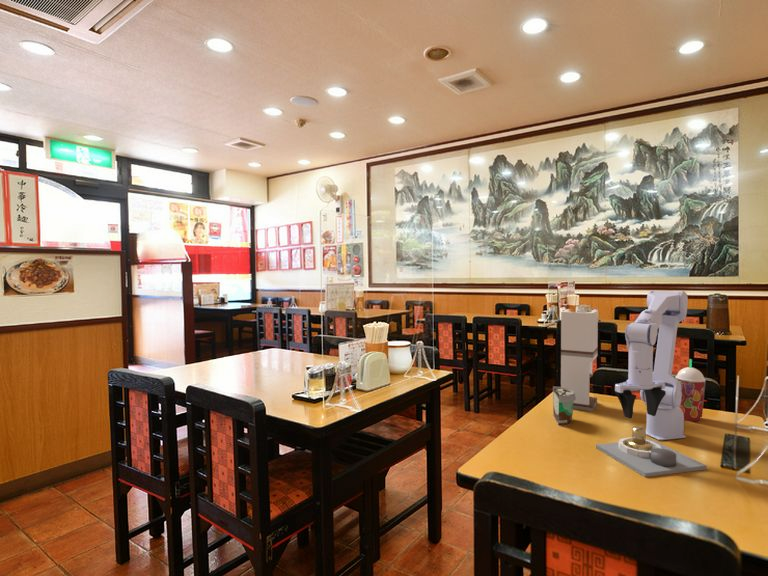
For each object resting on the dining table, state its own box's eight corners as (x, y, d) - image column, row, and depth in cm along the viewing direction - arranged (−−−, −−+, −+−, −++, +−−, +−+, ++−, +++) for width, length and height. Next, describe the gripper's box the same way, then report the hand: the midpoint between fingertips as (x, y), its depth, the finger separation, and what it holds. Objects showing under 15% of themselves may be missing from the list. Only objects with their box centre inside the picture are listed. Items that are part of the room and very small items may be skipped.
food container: (579, 427, 143) (579, 397, 142) (559, 426, 144) (559, 396, 143) (571, 415, 155) (571, 386, 154) (552, 414, 156) (552, 386, 156)
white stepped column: (592, 411, 158) (593, 313, 157) (560, 406, 164) (561, 311, 163) (597, 402, 168) (597, 310, 166) (567, 398, 174) (567, 309, 172)
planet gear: (639, 443, 127) (639, 423, 127) (658, 453, 121) (658, 431, 120) (620, 446, 125) (620, 425, 125) (638, 455, 119) (638, 433, 119)
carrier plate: (650, 442, 130) (650, 430, 130) (706, 469, 113) (706, 455, 113) (596, 448, 127) (596, 435, 127) (645, 477, 109) (645, 463, 109)
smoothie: (704, 416, 151) (705, 358, 150) (705, 424, 144) (707, 363, 143) (674, 412, 155) (675, 355, 155) (674, 420, 148) (675, 360, 148)
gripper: (650, 362, 127) (650, 409, 128) (607, 365, 124) (606, 413, 125) (671, 367, 120) (671, 417, 121) (626, 371, 117) (625, 422, 118)
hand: (639, 416), depth 122 cm, fingers open, 7 cm apart
